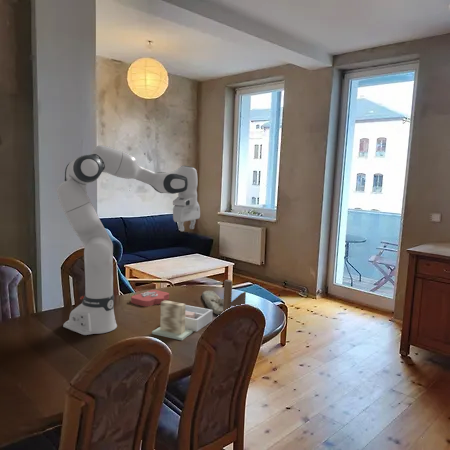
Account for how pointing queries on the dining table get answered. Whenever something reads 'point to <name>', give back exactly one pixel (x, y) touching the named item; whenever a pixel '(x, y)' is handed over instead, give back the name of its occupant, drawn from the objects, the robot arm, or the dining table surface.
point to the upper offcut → (190, 314)
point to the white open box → (198, 318)
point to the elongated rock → (213, 301)
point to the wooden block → (228, 296)
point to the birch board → (172, 317)
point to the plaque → (150, 298)
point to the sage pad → (172, 334)
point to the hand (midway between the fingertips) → (187, 229)
